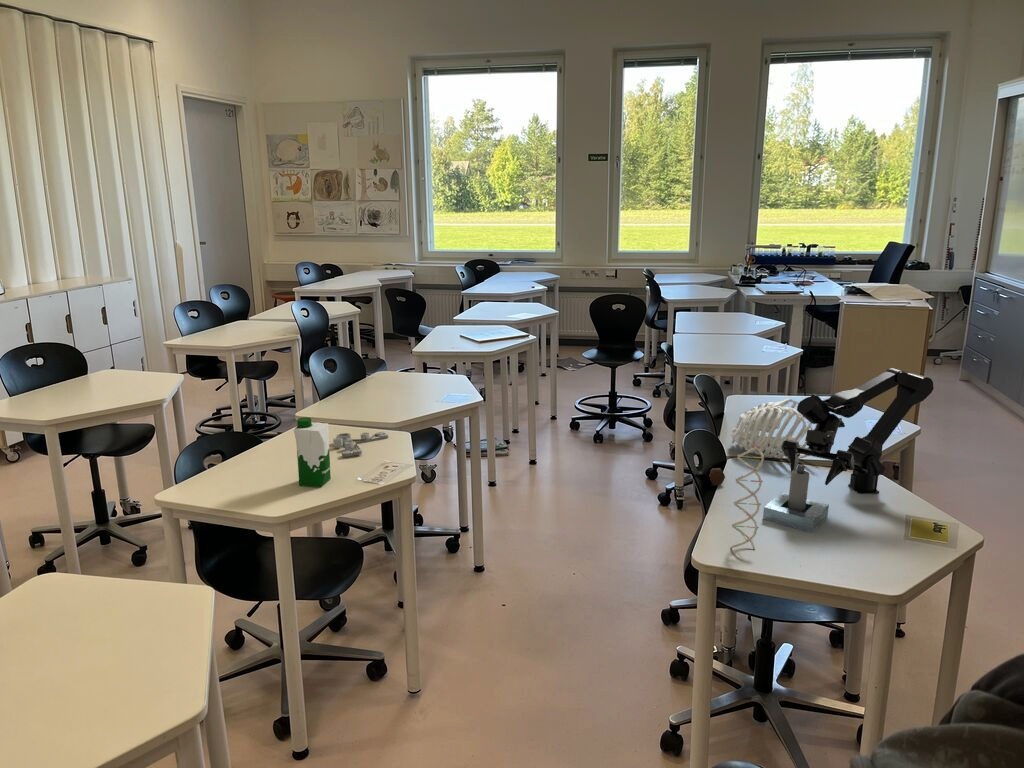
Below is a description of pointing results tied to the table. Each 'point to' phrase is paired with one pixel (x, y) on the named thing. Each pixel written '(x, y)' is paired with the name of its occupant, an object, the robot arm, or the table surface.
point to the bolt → (716, 476)
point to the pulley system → (347, 442)
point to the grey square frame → (796, 513)
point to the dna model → (749, 492)
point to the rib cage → (769, 428)
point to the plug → (798, 489)
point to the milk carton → (312, 453)
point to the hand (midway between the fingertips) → (808, 480)
